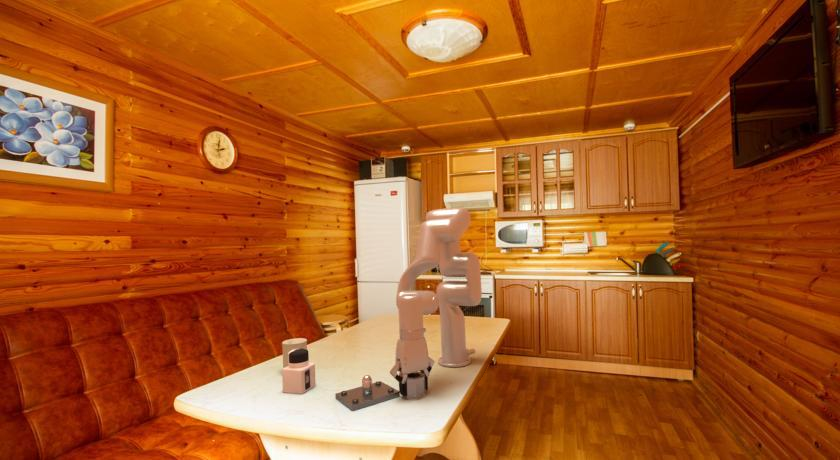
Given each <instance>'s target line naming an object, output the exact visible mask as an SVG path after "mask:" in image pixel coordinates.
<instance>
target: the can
mask: <svg viewBox="0 0 840 460" xmlns="http://www.w3.org/2000/svg"><path fill="white" fill-rule="evenodd" d="M281 347H282V365H283V366H282V369H283V368H285V367H287V366H289V365H288V353H289V352H290V351H291V350H294V349H300V348H303V349H307V350H308V339H307V338H303V337H299V338H297V337H296V338H290V339H286V340H283V341H282V342H281Z"/></svg>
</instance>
